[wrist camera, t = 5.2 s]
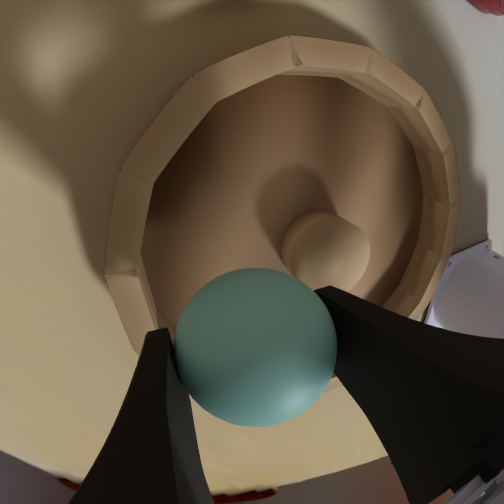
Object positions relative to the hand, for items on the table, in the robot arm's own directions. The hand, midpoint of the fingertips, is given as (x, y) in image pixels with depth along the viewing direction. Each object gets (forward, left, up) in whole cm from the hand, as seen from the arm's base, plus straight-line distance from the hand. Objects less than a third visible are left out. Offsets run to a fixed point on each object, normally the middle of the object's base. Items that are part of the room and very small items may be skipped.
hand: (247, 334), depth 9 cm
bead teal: (0, 0, -1) cm, 1 cm away
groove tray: (-5, 0, -5) cm, 7 cm away
